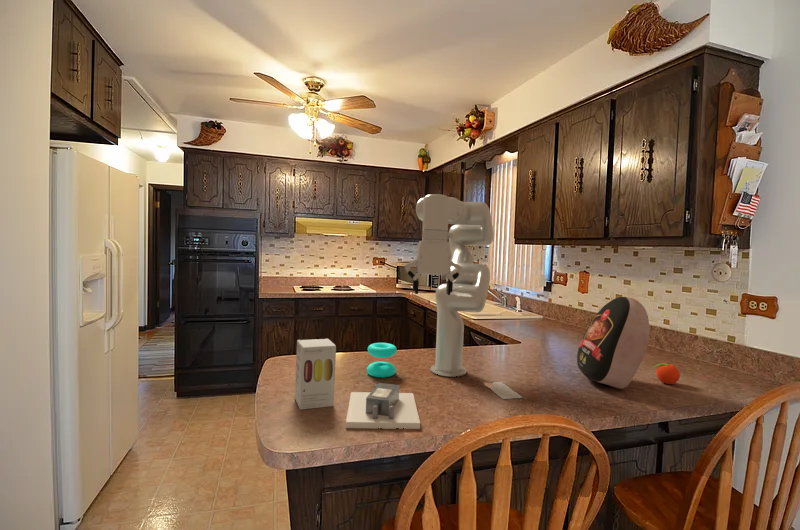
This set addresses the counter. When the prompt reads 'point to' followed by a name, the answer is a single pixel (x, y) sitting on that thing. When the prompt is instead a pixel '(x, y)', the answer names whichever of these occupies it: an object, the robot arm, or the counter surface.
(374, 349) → the donuts
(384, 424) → the white peg board
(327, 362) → the supplement box
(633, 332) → the packaged food
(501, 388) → the smartphone
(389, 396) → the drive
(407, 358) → the counter surface
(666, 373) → the clementine
